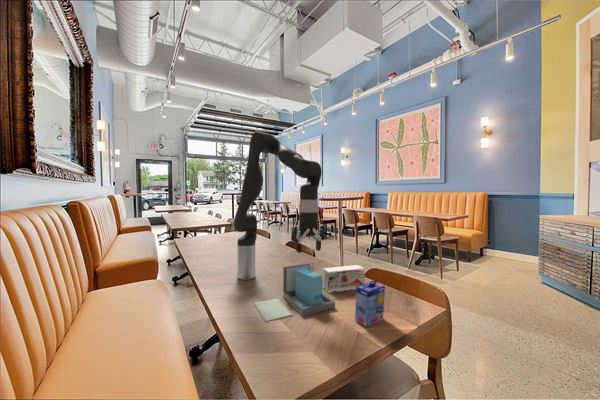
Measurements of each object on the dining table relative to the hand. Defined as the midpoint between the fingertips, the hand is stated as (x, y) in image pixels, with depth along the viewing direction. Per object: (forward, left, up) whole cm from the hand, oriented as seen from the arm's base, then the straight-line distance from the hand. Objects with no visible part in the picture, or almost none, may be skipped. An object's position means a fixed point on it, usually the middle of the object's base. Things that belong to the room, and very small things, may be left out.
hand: (308, 251), depth 98 cm
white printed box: (-7, +23, -21) cm, 32 cm away
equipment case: (0, 0, -21) cm, 21 cm away
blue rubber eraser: (0, 0, -21) cm, 21 cm away
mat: (-1, -15, -21) cm, 26 cm away
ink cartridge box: (+21, +13, -21) cm, 32 cm away
